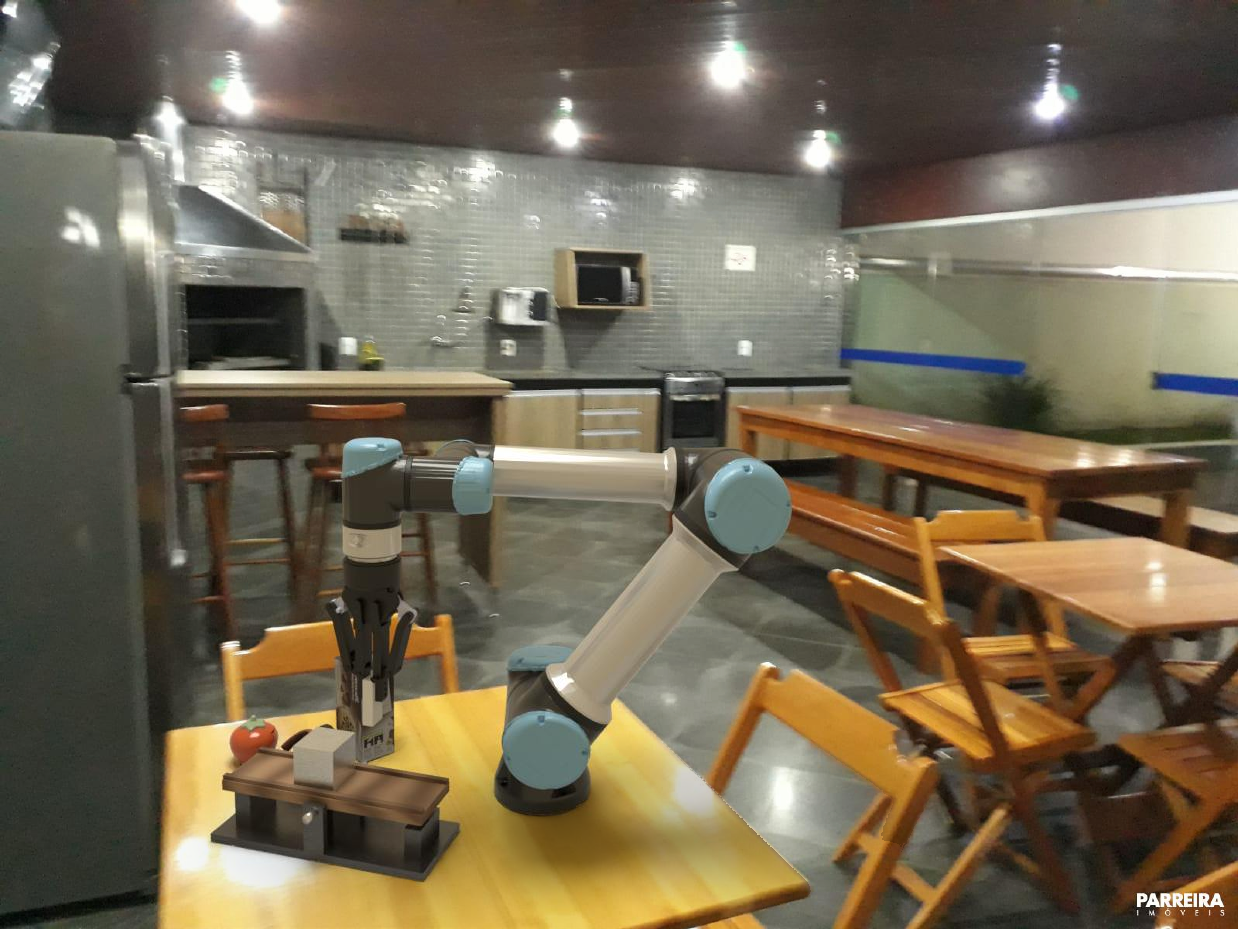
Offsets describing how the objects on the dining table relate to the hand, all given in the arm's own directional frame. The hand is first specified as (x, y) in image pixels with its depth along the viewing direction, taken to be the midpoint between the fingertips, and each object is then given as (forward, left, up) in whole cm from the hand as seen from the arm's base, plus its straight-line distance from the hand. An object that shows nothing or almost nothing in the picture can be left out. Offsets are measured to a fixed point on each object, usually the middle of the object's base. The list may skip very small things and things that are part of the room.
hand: (372, 721), depth 119 cm
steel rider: (+7, 0, -10) cm, 12 cm away
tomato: (+30, -15, -19) cm, 38 cm away
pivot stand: (+6, 0, -18) cm, 19 cm away
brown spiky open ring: (+19, -15, -19) cm, 30 cm away
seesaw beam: (+6, 0, -11) cm, 13 cm away
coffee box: (+15, -24, -19) cm, 34 cm away
